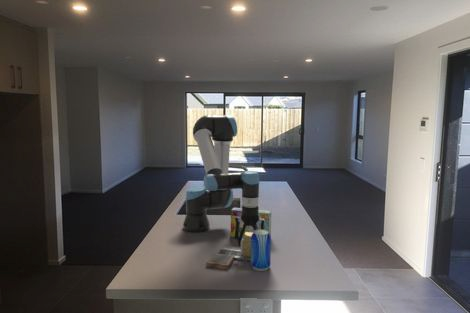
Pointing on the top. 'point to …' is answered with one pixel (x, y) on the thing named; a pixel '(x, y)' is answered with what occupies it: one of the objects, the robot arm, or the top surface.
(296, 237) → the top surface
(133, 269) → the top surface
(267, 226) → the snack box
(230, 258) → the pad
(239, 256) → the grey slotted plate
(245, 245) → the brass rectangular block
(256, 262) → the beer can
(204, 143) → the robot arm
